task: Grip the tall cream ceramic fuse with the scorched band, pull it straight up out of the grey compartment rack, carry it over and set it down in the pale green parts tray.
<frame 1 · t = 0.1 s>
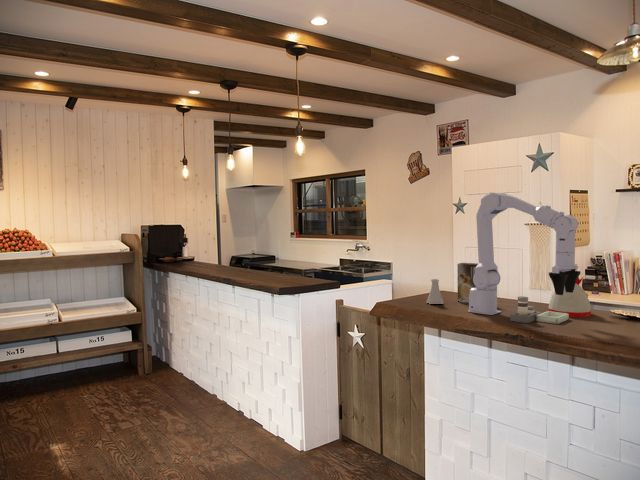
hand: (564, 293, 163), 10 cm above the table, tool pointing down, fingers open, 7 cm apart
blown fuse: (522, 320, 169), resting in grey compartment rack
coffee box: (470, 302, 207), on the table
kitchen timer: (569, 313, 182), on the table
parts tray: (552, 320, 169), on the table
grey compartment rack: (525, 319, 171), on the table
flask: (435, 304, 203), on the table
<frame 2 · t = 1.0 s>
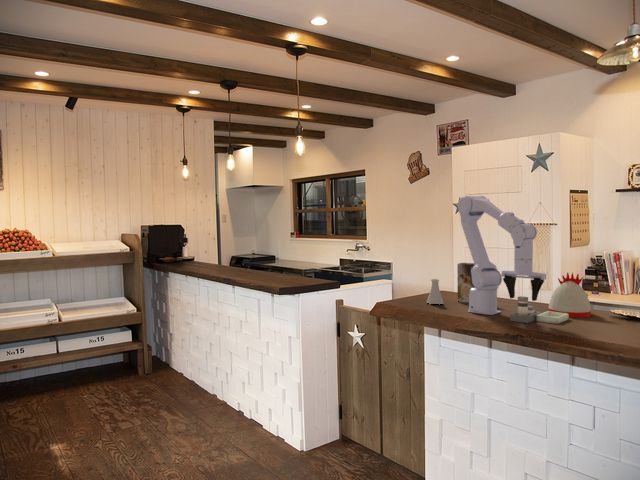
hand: (523, 299, 169), 7 cm above the table, tool pointing down, fingers open, 7 cm apart
nothing on the table moved.
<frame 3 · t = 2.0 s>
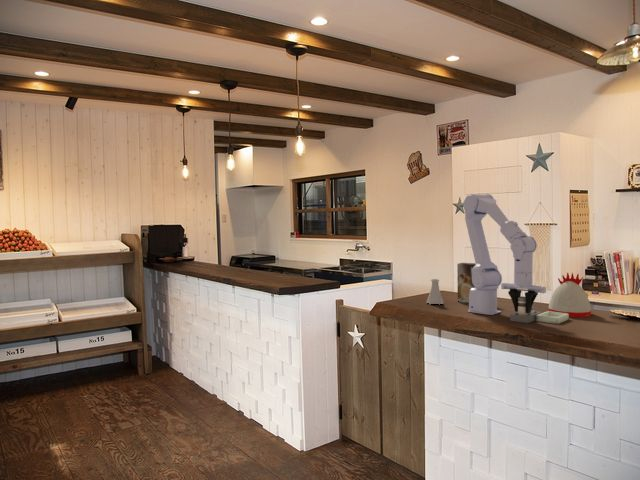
hand: (522, 312, 169), 3 cm above the table, tool pointing down, fingers closed on blown fuse, 3 cm apart
blown fuse: (522, 320, 169), resting in grey compartment rack, touching gripper
everything else where it was.
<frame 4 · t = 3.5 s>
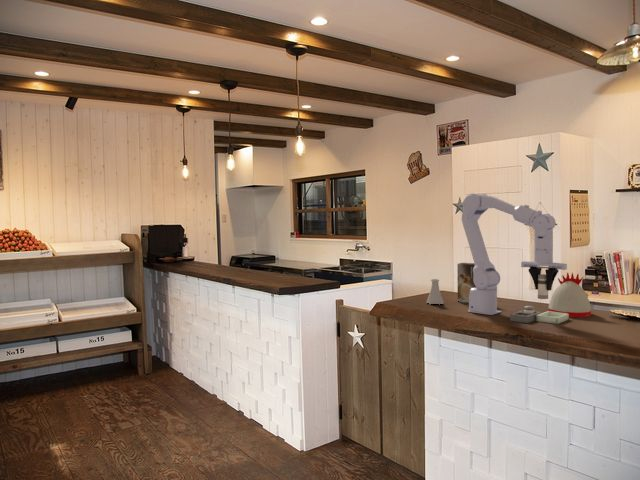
hand: (543, 289, 169), 11 cm above the table, tool pointing down, fingers closed on blown fuse, 3 cm apart
blown fuse: (542, 298, 169), point 8 cm above the table, touching gripper
everything else where it was.
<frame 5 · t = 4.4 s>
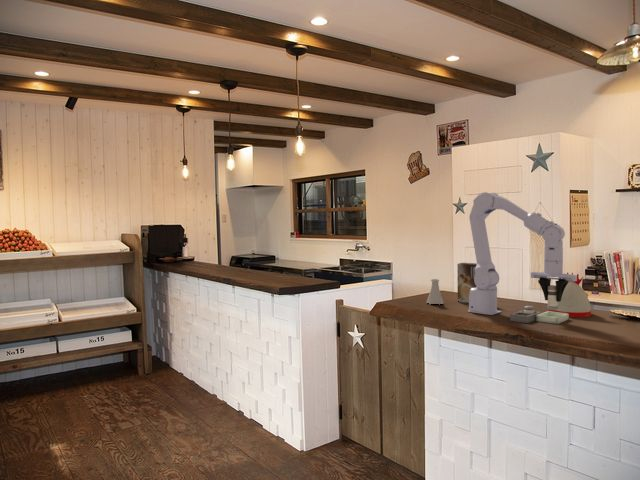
hand: (552, 300, 169), 7 cm above the table, tool pointing down, fingers closed on blown fuse, 3 cm apart
blown fuse: (552, 309, 169), point 4 cm above the table, touching gripper
everything else where it was.
when the fingers open (5 cm above the table, at t = 5.1 s): blown fuse drops 1 cm, resting on parts tray.
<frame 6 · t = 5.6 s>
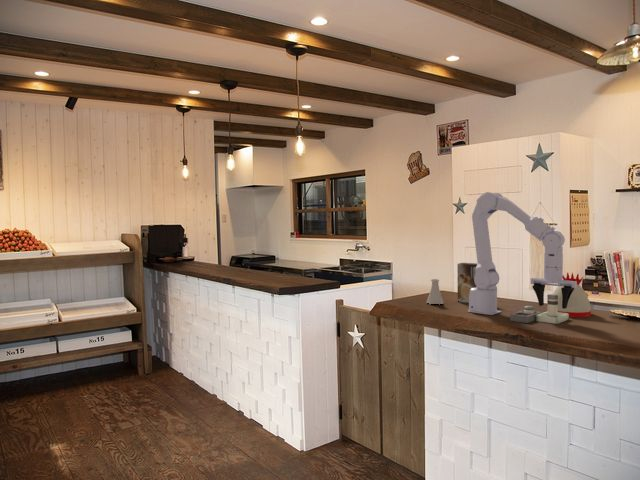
hand: (552, 306, 169), 5 cm above the table, tool pointing down, fingers open, 7 cm apart
blown fuse: (552, 318, 169), point 1 cm above the table, touching parts tray
everything else where it was.
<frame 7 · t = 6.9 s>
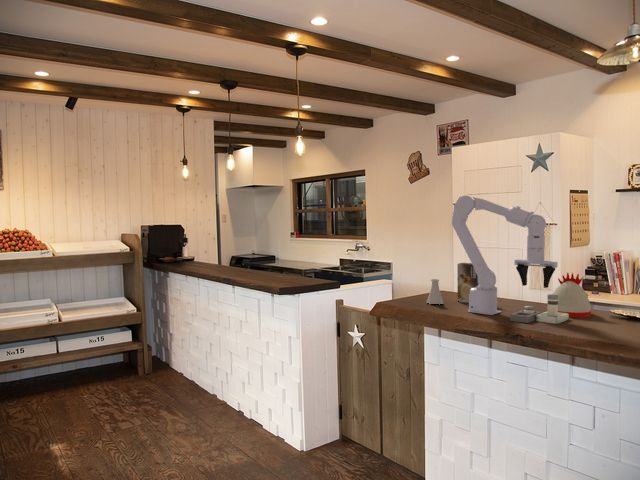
hand: (535, 286, 178), 10 cm above the table, tool pointing down, fingers open, 7 cm apart
nothing on the table moved.
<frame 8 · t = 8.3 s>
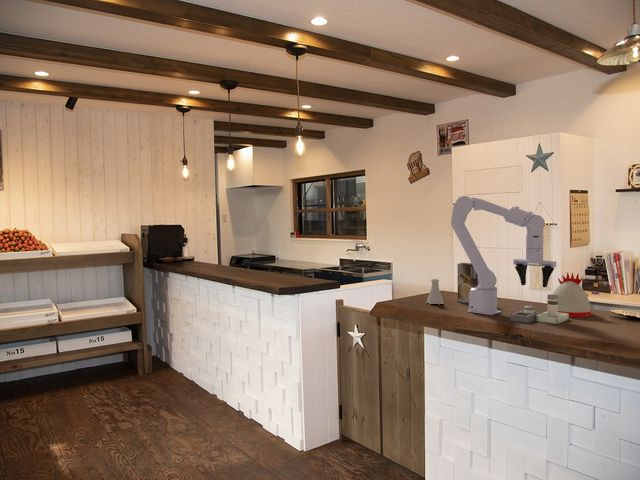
hand: (534, 286, 179), 10 cm above the table, tool pointing down, fingers open, 7 cm apart
nothing on the table moved.
at the end: blown fuse inside the target area on the parts tray (0.2 cm from its centre), point 0.6 cm above the parts tray's base; the gripper is holding nothing; blown fuse moved 10.2 cm from its start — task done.
